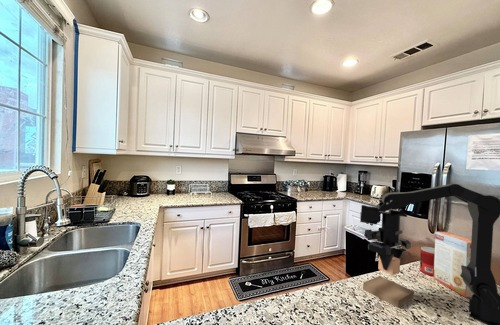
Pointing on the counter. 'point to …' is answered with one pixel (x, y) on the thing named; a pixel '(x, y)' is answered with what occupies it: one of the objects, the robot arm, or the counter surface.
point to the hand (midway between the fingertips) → (389, 268)
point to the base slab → (388, 291)
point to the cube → (391, 266)
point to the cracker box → (452, 261)
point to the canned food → (427, 260)
